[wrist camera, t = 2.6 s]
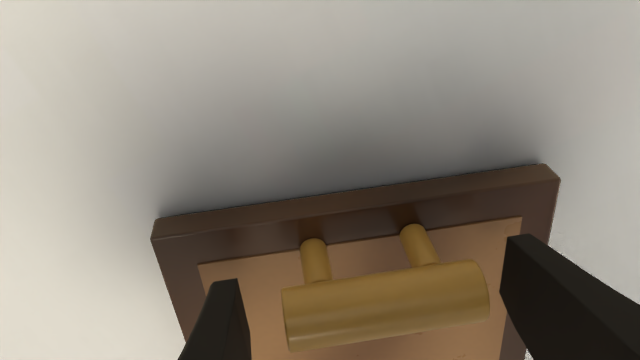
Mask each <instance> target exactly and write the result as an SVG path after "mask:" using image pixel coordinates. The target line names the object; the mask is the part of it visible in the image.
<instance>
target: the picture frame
mask: <svg viewBox="0 0 640 360" xmlns="http://www.w3.org/2000/svg"><path fill="white" fill-rule="evenodd" d="M560 183H561V179H560V177H559V176H558V175H557V174H556V173H555V172H554V171H553V170H552V169H550V168H549V167H548V166H547V165H546V164H544V163H542V164H535V165H528V166H521V167H514V168H507V169H500V170H493V171H486V172H479V173H472V174H465V175H458V176H451V177H444V178H437V179H431V180H424V181H417V182H410V183H403V184H396V185H389V186H382V187H375V188H368V189H361V190H354V191H347V192H340V193H333V194H326V195H319V196H312V197H305V198H298V199H291V200H284V201H277V202H270V203H263V204H256V205H249V206H242V207H235V208H228V209H221V210H214V211H207V212H200V213H193V214H186V215H179V216H172V217H165V218H158V219H156V220H155V222H154V226H153V230H152V234H151V238H150V240H151V243H152V246H153V249H154V252H155V255H156V258H157V261H158V263H159V266H160V269H161V272H162V275H163V278H164V281H165V284H166V287H167V290H168V292H169V295H170V298H171V301H172V304H173V307H174V310H175V313H176V316H177V318H178V321H179V324H180V327H181V330H182V333H183V336H184V339H185V342H187V340H188V338H189V336H190V334H191V332H192V330H193V328H194V325H195V323H196V321H197V319H198V316H199V314H200V312H201V309H202V307H203V304H204V302H205V299H206V296H207V293H208V291H209V288H210V285H211V284H212V283H213V282H214V281H221V280H227V279H234V278H237V279H238V283H239V287H240V292H241V296H242V300H243V304H244V308H245V313H246V317H247V321H248V325H249V329H250V338H251V355H252V360H524V359H525V354H526V349H527V348H526V346H525V344H524V343H523V341H522V339H521V337H520V336H519V334H518V332H517V331H516V329H515V327H514V325H513V323H512V321H511V319H510V317H509V314H508V312H507V310H506V308H505V305H504V303H503V300H502V298H501V296H500V293H499V289H500V282H501V275H502V268H503V262H504V255H505V248H506V242H507V237H508V236H515V235H521V234H528V233H530V234H531V235H533V236H534V237H536V238H537V239H539V240H540V241H542V242H543V243H545V244H546V245H548V241H549V237H550V232H551V227H552V222H553V217H554V212H555V207H556V202H557V198H558V193H559V188H560Z"/></svg>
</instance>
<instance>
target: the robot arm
mask: <svg viewBox="0 0 640 360" xmlns="http://www.w3.org/2000/svg"><path fill="white" fill-rule="evenodd" d="M499 293H500V296H501V298H502V300H503V303H504V305H505V308H506V310H507V312H508V314H509V317H510V319H511V321H512V323H513V325H514V327H515V329H516V331H517V332H518V334H519V336H520V337H521V339H522V341H523V343H524V344H525V346H526V348H527V349H528V351H529V353H530V354H531V356H532V357H533V359H534V360H640V305H639V304H637V303H636V302H634V301H632V300H631V299H629V298H627V297H625V296H624V295H622V294H620V293H619V292H617V291H616V290H614V289H612V288H611V287H609V286H607V285H606V284H604V283H603V282H601V281H600V280H598V279H597V278H595V277H593V276H592V275H590V274H589V273H587V272H586V271H584V270H583V269H581V268H580V267H578V266H577V265H575V264H574V263H573V262H571V261H570V260H568V259H567V258H565V257H564V256H562V255H561V254H559V253H558V252H556V251H555V250H554V249H552V248H551V247H549V246H548V245H546V244H545V243H543V242H542V241H540V240H539V239H537V238H536V237H534V236H533V235H531V234H530V233H528V234H521V235H515V236H508V237H507V242H506V248H505V255H504V262H503V268H502V275H501V282H500V289H499ZM178 360H252V355H251V338H250V329H249V325H248V321H247V317H246V313H245V308H244V304H243V300H242V296H241V292H240V287H239V283H238V279H237V278H234V279H227V280H221V281H214V282H213V283H212V284H211V285H210V288H209V291H208V293H207V296H206V299H205V302H204V304H203V307H202V309H201V312H200V314H199V316H198V319H197V321H196V323H195V325H194V328H193V330H192V332H191V334H190V336H189V338H188V340H187V342H186V344H185V346H184V349H183V351H182V353H181V354H180V356H179V358H178Z"/></svg>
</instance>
